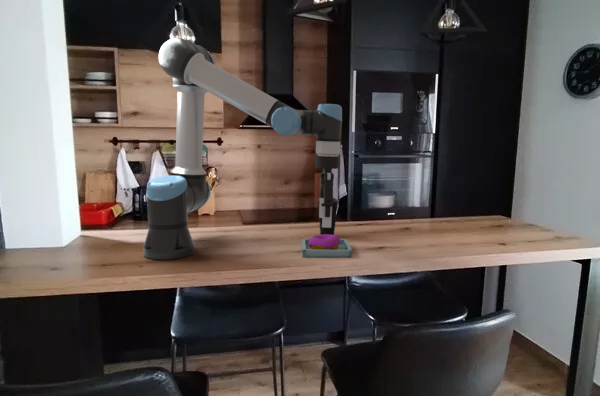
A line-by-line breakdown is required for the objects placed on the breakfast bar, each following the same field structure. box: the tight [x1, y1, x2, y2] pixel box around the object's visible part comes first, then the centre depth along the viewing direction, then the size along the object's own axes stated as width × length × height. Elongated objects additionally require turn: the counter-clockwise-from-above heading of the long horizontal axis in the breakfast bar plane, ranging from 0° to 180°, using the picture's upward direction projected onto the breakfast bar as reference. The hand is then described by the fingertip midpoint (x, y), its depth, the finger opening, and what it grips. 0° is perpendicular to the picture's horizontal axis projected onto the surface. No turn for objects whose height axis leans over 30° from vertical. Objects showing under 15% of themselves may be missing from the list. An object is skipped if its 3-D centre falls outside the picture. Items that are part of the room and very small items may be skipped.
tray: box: [301, 238, 353, 259], centre depth 134 cm, size 15×14×2 cm
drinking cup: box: [317, 196, 340, 235], centre depth 150 cm, size 8×8×20 cm
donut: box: [308, 234, 341, 250], centre depth 134 cm, size 10×10×5 cm
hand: (324, 222), depth 133 cm, fingers open, 13 cm apart
